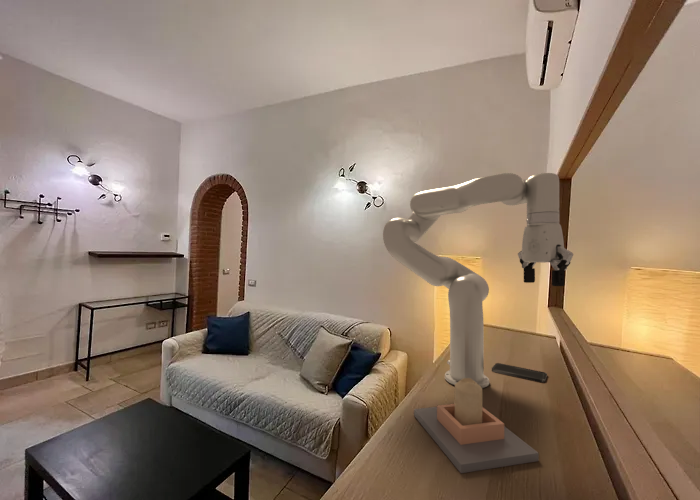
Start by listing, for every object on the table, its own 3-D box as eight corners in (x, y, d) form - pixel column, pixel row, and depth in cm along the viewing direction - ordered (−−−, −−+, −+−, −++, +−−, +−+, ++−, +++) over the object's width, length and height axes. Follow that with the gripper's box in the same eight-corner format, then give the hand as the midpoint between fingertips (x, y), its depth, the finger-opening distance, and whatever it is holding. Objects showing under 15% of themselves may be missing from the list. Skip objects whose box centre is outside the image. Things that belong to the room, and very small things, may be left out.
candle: (485, 436, 64) (485, 386, 64) (456, 433, 65) (456, 384, 65) (479, 422, 69) (479, 376, 69) (453, 419, 70) (453, 374, 70)
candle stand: (414, 415, 75) (414, 396, 75) (474, 408, 78) (474, 390, 78) (460, 473, 55) (460, 447, 55) (538, 461, 59) (538, 436, 59)
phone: (544, 380, 94) (490, 369, 103) (544, 384, 94) (490, 372, 103) (547, 372, 100) (496, 362, 109) (547, 376, 100) (496, 365, 109)
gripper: (508, 223, 93) (508, 281, 93) (558, 216, 76) (558, 287, 76) (530, 223, 94) (530, 281, 94) (584, 217, 77) (584, 287, 77)
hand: (542, 284), depth 85 cm, fingers open, 9 cm apart
